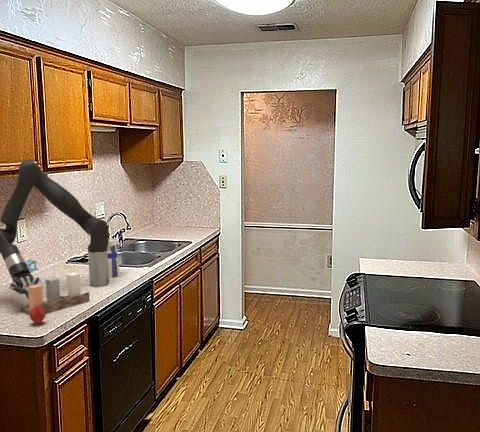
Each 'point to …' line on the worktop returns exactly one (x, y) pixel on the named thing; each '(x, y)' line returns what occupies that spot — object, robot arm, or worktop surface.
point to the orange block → (35, 296)
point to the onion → (37, 314)
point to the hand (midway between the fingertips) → (32, 299)
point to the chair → (32, 268)
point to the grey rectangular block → (52, 289)
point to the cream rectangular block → (73, 284)
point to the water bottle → (113, 258)
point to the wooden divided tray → (60, 303)
